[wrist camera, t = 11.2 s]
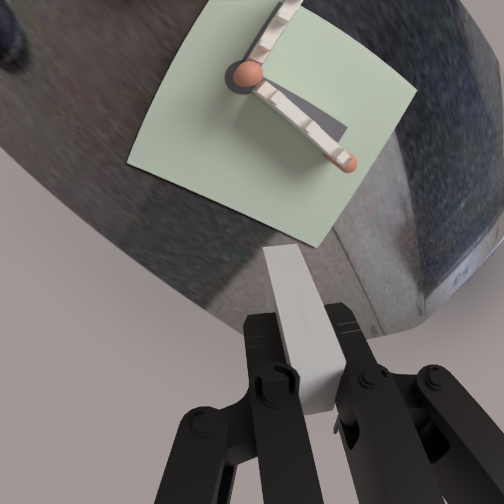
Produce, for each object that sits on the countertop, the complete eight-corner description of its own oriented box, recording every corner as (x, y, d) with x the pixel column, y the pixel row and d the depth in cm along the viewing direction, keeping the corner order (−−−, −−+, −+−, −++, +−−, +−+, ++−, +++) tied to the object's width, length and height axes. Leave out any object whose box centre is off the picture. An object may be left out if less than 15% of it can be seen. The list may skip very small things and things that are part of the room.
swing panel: (249, 93, 27) (256, 94, 22) (261, 79, 26) (271, 77, 21) (331, 163, 31) (354, 181, 26) (342, 151, 31) (367, 167, 25)
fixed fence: (229, 81, 27) (231, 78, 20) (284, -6, 22) (303, -32, 15) (247, 90, 27) (255, 90, 21) (301, 3, 23) (325, -20, 16)
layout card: (127, 161, 30) (126, 163, 29) (228, -27, 21) (229, -28, 20) (316, 246, 37) (317, 248, 37) (415, 90, 28) (417, 90, 28)
